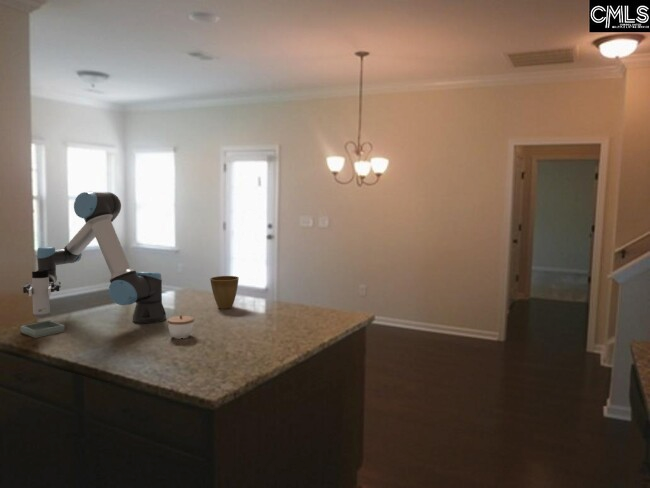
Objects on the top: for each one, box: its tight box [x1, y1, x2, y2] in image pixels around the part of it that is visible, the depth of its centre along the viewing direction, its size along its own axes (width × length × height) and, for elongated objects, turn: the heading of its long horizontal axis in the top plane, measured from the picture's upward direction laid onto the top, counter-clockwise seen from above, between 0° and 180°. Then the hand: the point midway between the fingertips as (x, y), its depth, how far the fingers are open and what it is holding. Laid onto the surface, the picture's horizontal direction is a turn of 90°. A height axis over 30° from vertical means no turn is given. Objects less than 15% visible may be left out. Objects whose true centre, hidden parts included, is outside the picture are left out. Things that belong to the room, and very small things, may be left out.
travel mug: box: [31, 269, 51, 318], centre depth 209 cm, size 6×7×20 cm
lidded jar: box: [167, 314, 195, 340], centre depth 206 cm, size 11×11×9 cm
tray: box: [20, 319, 66, 339], centre depth 210 cm, size 13×12×3 cm
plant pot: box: [209, 275, 239, 310], centre depth 260 cm, size 15×15×16 cm
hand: (39, 292), depth 204 cm, fingers closed on travel mug, 6 cm apart
